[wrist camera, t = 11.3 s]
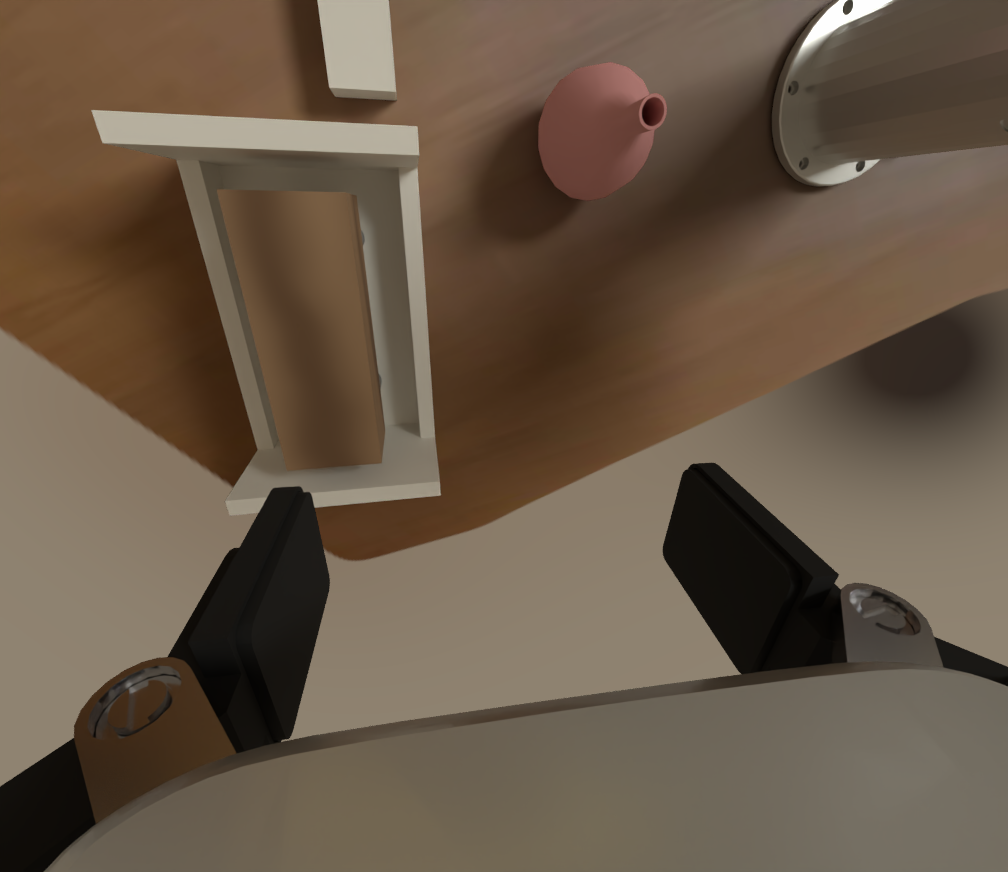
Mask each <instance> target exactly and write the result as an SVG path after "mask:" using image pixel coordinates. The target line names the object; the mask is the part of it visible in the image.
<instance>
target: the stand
mask: <svg viewBox="0 0 1008 872" xmlns="http://www.w3.org/2000/svg"><path fill="white" fill-rule="evenodd" d="M92 113H93V116H94V119H95V122H96V125H97V128H98V131H99V134H100V137H101V140H102V143H105V144H109V145H114V146H118V147H123V148H127V149H131V150H136V151H140V152H145V153H149V154H154V155H158V156H163V157H167V158H171V159H176V161H177V164H178V168H179V171H180V175H181V179H182V182H183V186H184V189H185V193H186V196H187V200H188V204H189V207H190V211H191V214H192V218H193V221H194V225H195V228H196V232H197V236H198V239H199V243H200V246H201V250H202V253H203V257H204V261H205V264H206V268H207V271H208V275H209V278H210V282H211V286H212V289H213V293H214V296H215V300H216V303H217V307H218V310H219V314H220V318H221V321H222V325H223V328H224V332H225V335H226V339H227V343H228V346H229V350H230V353H231V357H232V360H233V364H234V367H235V371H236V375H237V378H238V382H239V385H240V389H241V392H242V396H243V400H244V403H245V407H246V410H247V414H248V417H249V421H250V425H251V428H252V432H253V435H254V439H255V442H256V446H257V449H258V450H257V452H256V453H255V455H254V456H253V458H252V460H251V461H250V463H249V464H248V466H247V467H246V469H245V470H244V472H243V474H242V475H241V477H240V478H239V480H238V481H237V483H236V484H235V486H234V488H233V489H232V491H231V492H230V494H229V495H228V497H227V498H226V500H225V503H226V506H227V509H228V512H229V515H230V516H233V515H244V514H254V513H259V511H260V510H261V508H262V506H263V504H264V502H265V500H266V499H267V497H268V495H269V493H270V491H271V490H272V489H273V488H277V487H294V486H300V487H301V488H302V489H303V492H310V493H311V495H312V498H313V503H314V508H316V507H326V506H337V505H347V504H357V503H368V502H378V501H388V500H399V499H409V498H419V497H430V496H440V495H441V491H440V478H439V469H438V460H437V451H436V441H435V429H434V414H433V399H432V384H431V368H430V353H429V338H428V323H427V308H426V292H425V277H424V262H423V247H422V232H421V217H420V201H419V186H418V171H417V166H418V160H419V144H418V128H417V126H400V125H380V124H360V123H340V122H319V121H299V120H279V119H259V118H239V117H219V116H199V115H179V114H159V113H139V112H119V111H99V110H92ZM216 189H228V190H269V191H310V192H346V193H350V194H353V195H356V196H357V203H358V211H359V219H360V227H361V236H362V244H363V252H364V260H365V268H366V276H367V285H368V293H369V301H370V309H371V317H372V325H373V334H374V342H375V350H376V358H377V366H378V374H379V383H380V391H381V399H382V407H383V415H384V423H385V439H384V447H383V456H382V463H379V464H367V465H354V466H342V467H330V468H317V469H305V470H293V471H287V469H286V465H285V461H284V457H283V453H282V449H281V445H280V441H279V437H278V433H277V429H276V425H275V421H274V417H273V413H272V409H271V405H270V401H269V397H268V393H267V389H266V385H265V381H264V377H263V373H262V369H261V365H260V361H259V357H258V353H257V349H256V345H255V341H254V337H253V333H252V329H251V325H250V321H249V317H248V313H247V309H246V305H245V301H244V297H243V293H242V289H241V285H240V281H239V277H238V273H237V269H236V265H235V261H234V257H233V253H232V249H231V245H230V242H229V238H228V234H227V230H226V226H225V222H224V218H223V214H222V210H221V206H220V202H219V198H218V194H217V190H216Z"/></svg>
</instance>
